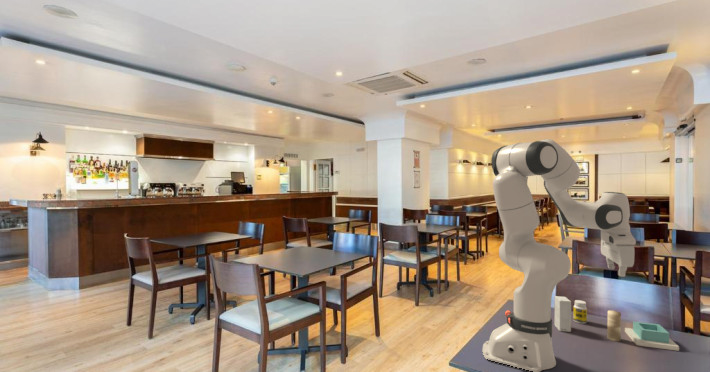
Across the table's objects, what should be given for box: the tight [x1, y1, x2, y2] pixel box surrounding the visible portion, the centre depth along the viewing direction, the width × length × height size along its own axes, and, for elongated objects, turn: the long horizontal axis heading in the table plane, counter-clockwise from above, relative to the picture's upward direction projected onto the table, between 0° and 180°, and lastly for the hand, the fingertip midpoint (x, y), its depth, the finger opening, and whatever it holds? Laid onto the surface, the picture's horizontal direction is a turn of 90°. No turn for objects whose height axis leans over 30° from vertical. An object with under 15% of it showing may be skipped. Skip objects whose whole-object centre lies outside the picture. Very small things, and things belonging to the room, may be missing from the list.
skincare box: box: [554, 295, 572, 333], centre depth 141 cm, size 6×4×12 cm
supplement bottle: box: [572, 299, 588, 325], centre depth 147 cm, size 5×5×8 cm
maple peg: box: [606, 309, 622, 342], centre depth 132 cm, size 4×4×10 cm
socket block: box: [624, 321, 680, 352], centre depth 130 cm, size 12×12×5 cm
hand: (616, 272), depth 131 cm, fingers open, 8 cm apart
